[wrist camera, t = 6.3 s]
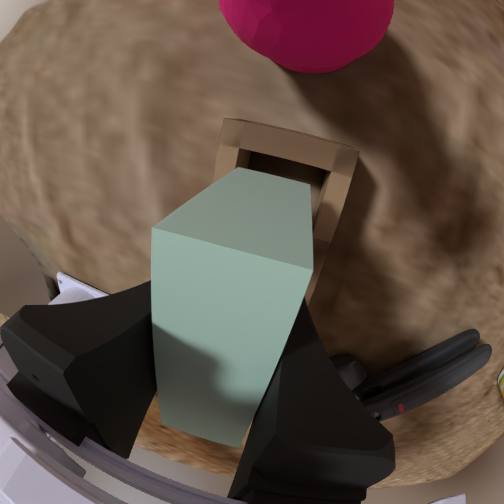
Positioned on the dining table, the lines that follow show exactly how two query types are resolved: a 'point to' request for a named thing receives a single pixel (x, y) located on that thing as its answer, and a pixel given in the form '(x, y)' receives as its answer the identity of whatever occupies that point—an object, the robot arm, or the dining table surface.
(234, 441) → the mint green foam block
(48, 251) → the dining table surface
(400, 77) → the dining table surface
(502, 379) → the supplement bottle
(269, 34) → the pepper mill
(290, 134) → the brown wooden frame
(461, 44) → the dining table surface
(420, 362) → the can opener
